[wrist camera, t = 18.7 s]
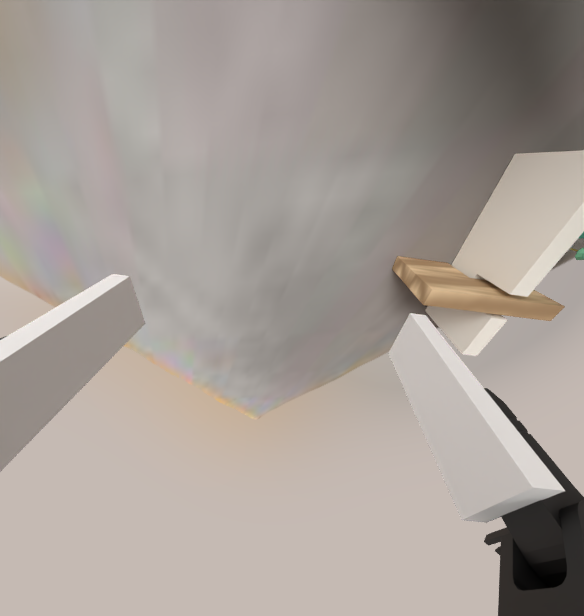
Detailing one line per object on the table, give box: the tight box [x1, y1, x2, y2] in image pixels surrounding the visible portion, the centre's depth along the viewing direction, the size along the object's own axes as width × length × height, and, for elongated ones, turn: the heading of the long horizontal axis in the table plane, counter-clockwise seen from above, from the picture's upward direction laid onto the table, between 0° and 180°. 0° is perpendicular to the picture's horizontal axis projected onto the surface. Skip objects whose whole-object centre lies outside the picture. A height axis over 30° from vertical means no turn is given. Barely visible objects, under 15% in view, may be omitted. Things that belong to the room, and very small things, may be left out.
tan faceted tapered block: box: [392, 256, 564, 321], centre depth 33 cm, size 2×18×12 cm, turn 83°
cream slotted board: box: [425, 150, 584, 356], centre depth 31 cm, size 26×2×12 cm, turn 173°
